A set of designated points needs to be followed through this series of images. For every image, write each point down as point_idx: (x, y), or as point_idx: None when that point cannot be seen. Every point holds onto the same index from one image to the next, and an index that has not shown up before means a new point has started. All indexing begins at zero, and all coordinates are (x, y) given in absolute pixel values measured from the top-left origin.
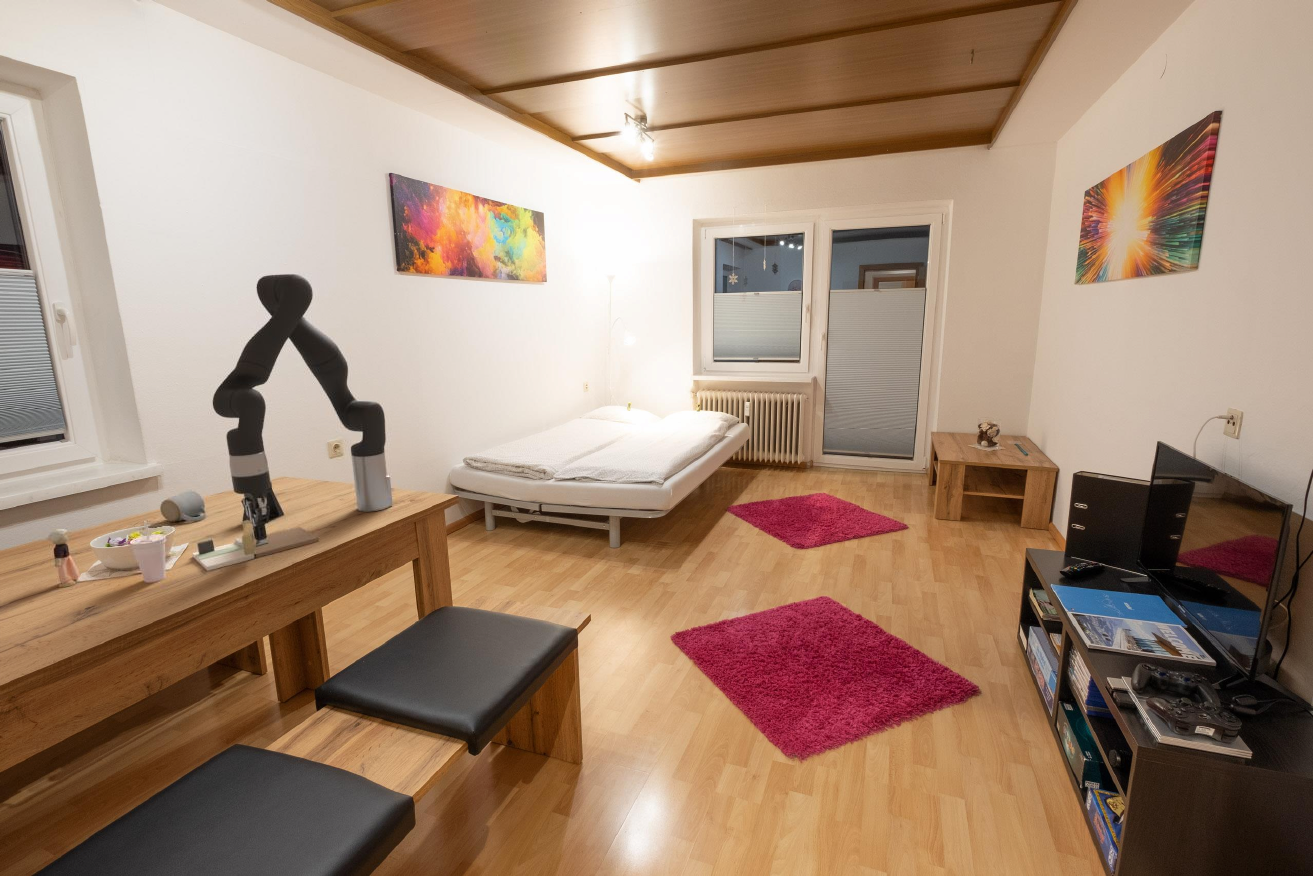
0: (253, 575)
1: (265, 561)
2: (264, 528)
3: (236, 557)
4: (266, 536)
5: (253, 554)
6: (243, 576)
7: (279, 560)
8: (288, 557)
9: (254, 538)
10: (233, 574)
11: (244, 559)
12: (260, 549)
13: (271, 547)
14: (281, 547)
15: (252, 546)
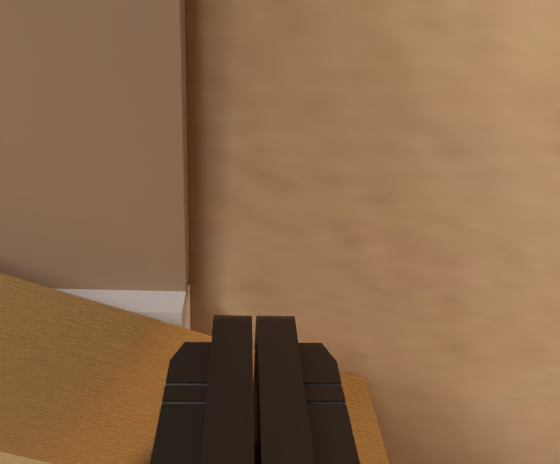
0: (532, 381)
1: (337, 253)
2: (306, 423)
3: None
4: (293, 325)
5: (185, 306)
6: (487, 418)
7: (420, 175)
8: (420, 96)
9: (137, 376)
10: (394, 442)
11: None
12: (86, 229)
13: (108, 144)
14: (181, 72)
15: (375, 441)
